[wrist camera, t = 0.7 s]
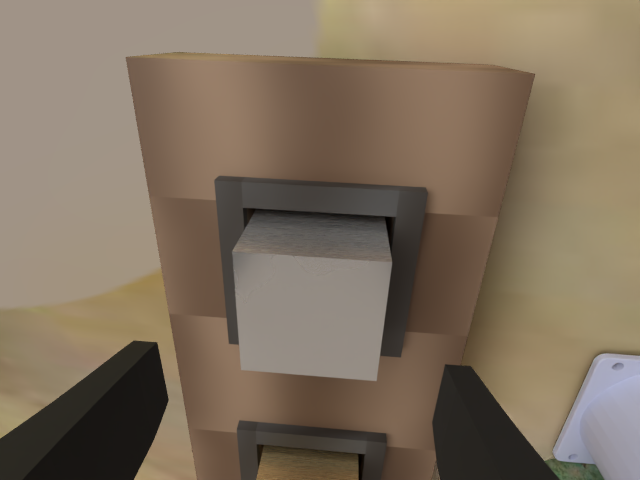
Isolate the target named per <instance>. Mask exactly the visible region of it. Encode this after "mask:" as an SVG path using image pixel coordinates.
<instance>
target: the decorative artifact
mask: <svg viewBox="0 0 640 480" xmlns="http://www.w3.org/2000/svg"><path fill="white" fill-rule="evenodd" d="M545 463H546V464H547V465H548V466H549V467H550V468H551V470H552V471H553V472H554V473H555V474H556V475H557V477H558V478H559V479H560V480H604V478H603V476H602V475H601V473H600V471H599V469H598V468H597V466H596V464H587V463H576V462H565V461H559V460H557V459H556V458H555V459H551V460H547V461H545Z"/></svg>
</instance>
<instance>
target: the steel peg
mask: <svg viewBox="0 0 640 480" xmlns="http://www.w3.org/2000/svg"><path fill="white" fill-rule="evenodd" d="M232 256H233V270H234V283H235V296H236V310H237V323H238V336H239V350H240V363H241V370H248V371H260V372H272V373H284V374H296V375H308V376H321V377H333V378H345V379H357V380H369V381H377V373H378V366H379V358H380V351H381V343H382V336H383V328H384V321H385V313H386V306H387V298H388V291H389V283H390V275H391V268H392V258H391V252H390V246H389V240H388V234H387V228H386V222H385V216H373V215H357V214H340V213H324V212H307V211H291V210H274V209H258V208H257V209H256V210H255V212H254V214H253V216H252V217H251V219H250V221H249V223H248V224H247V226H246V228H245V230H244V232H243V233H242V235H241V237H240V239H239V240H238V242H237V244H236V246H235V247H234V249H233V251H232Z"/></svg>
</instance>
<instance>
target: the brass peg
mask: <svg viewBox="0 0 640 480" xmlns="http://www.w3.org/2000/svg"><path fill="white" fill-rule="evenodd" d="M256 480H358V453H348V452H337V451H326V450H315V449H304V448H293V447H283V446H272V445H264V447H263V451H262V456H261V460H260V465H259V469H258V474H257V478H256Z"/></svg>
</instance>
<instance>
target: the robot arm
mask: <svg viewBox="0 0 640 480" xmlns="http://www.w3.org/2000/svg"><path fill="white" fill-rule="evenodd" d="M616 363H617V364H616ZM614 364H615V365H614ZM168 400H169V399H168V394H167V389H166V384H165V379H164V374H163V369H162V364H161V359H160V354H159V349H158V344H157V342H145V341H133V342H131V343H130V344H129V345H127V346H126V347H125V348H123V349H122V350H121V351H119V352H118V353H117V354H115V355H114V356H113V357H111V358H110V359H109V360H107V361H106V362H105V363H104V364H102V365H101V366H100V367H98V368H97V369H96V370H95V371H93V372H92V373H91V374H89V375H88V376H87V377H85V378H84V379H83V380H81V381H80V382H79V383H77V384H76V385H75V386H73V387H72V388H71V389H69V390H68V391H67V392H65V393H64V394H63V395H61V396H60V397H59V398H57V399H56V400H55V401H53V402H52V403H51V404H49V405H48V406H46V407H45V408H44V409H42V410H41V411H39V412H38V413H36V414H35V415H34V416H32V417H31V418H29V419H28V420H26V421H25V422H24V423H22V424H21V425H19V426H18V427H16V428H15V429H14V430H12V431H11V432H9V433H8V434H6V435H5V436H4V437H2V438H1V439H0V480H134V478H135V476H136V474H137V472H138V470H139V468H140V466H141V464H142V462H143V460H144V458H145V456H146V455H147V453H148V451H149V449H150V447H151V445H152V443H153V440H154V438H155V435H156V433H157V430H158V428H159V425H160V423H161V420H162V417H163V414H164V412H165V409H166V406H167V403H168ZM432 427H433V436H434V444H435V452H436V459H437V466H438V471H439V475H440V480H560V479H559V478H558V477H557V475H556V474H555V473H554V472H553V471H552V470H551V468H550V467H549V466H548V465H547V464H546V463H545V461H544V460H543V459H542V458H541V457H540V455H539V454H538V453H537V452H536V451H535V449H534V448H533V447H532V446H531V444H530V443H529V442H528V441H527V439H526V438H525V437H524V436H523V434H522V433H521V432H520V431H519V429H518V428H517V427H516V426H515V424H514V423H513V422H512V421H511V419H510V418H509V417H508V415H507V414H506V413H505V411H504V410H503V409H502V407H501V406H500V405H499V403H498V402H497V401H496V399H495V398H494V397H493V395H492V394H491V393H490V391H489V390H488V389H487V387H486V386H485V385H484V383H483V382H482V380H481V379H480V378H479V376H478V375H477V374H476V372H475V371H474V370H473V369H472V367H471V366H460V365H447V364H445V367H444V371H443V375H442V380H441V384H440V389H439V393H438V398H437V402H436V406H435V411H434V415H433V420H432ZM553 454H554V456H555V458H556V459H557V460H559V461H565V462H576V463H587V464H596V466H597V468H598V469H599V471H600V473H601V475H602V476H603V478H604V480H640V356H634V355H621V354H608V353H606V354H600V355H598V356H597V357H596V358H595V359H594V360H593V363H592V365H591V367H590V369H589V371H588V374H587V376H586V378H585V380H584V382H583V385H582V387H581V389H580V391H579V393H578V396H577V398H576V400H575V402H574V404H573V407H572V409H571V411H570V413H569V416H568V418H567V420H566V422H565V424H564V427H563V429H562V431H561V433H560V435H559V438H558V440H557V442H556V444H555V446H554V449H553Z"/></svg>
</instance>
